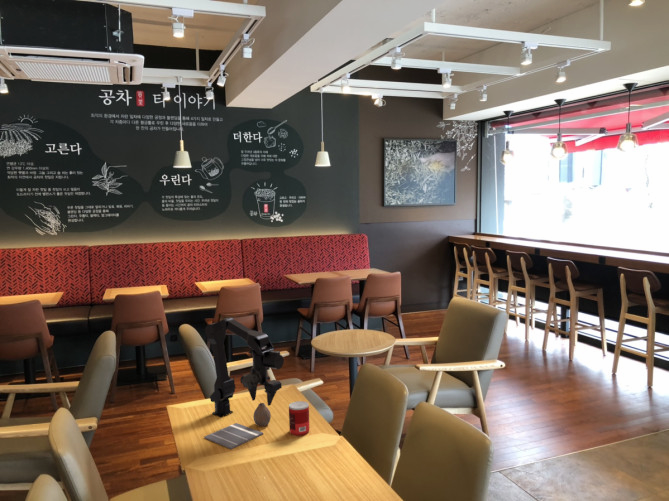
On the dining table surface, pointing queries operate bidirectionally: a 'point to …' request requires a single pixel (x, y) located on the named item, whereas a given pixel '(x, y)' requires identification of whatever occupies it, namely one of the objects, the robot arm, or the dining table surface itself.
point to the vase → (262, 415)
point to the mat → (233, 435)
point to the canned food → (299, 418)
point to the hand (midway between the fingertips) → (261, 402)
